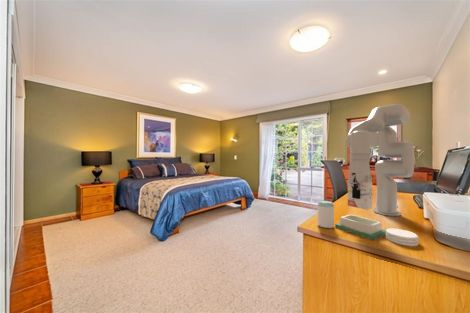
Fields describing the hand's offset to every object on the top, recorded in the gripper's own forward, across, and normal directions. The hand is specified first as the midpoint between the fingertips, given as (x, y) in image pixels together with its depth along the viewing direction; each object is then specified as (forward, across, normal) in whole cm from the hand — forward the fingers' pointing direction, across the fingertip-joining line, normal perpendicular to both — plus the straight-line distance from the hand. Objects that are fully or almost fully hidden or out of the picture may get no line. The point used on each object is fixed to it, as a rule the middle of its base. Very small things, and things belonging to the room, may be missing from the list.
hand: (359, 197), depth 88 cm
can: (+16, +9, -11) cm, 21 cm away
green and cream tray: (+15, 0, 0) cm, 15 cm away
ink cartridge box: (+5, 0, 0) cm, 5 cm away
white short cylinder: (+16, -4, +14) cm, 21 cm away
